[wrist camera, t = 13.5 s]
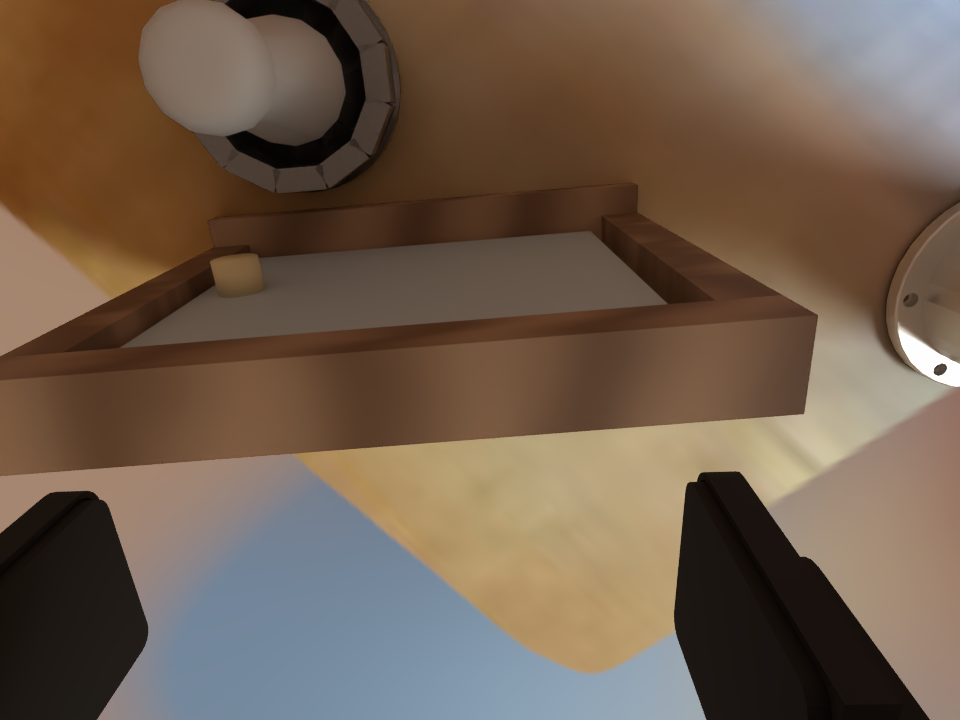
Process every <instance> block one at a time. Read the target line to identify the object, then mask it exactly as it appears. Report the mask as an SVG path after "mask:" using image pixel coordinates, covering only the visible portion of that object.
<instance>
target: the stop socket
mask: <svg viewBox="0 0 960 720" xmlns="http://www.w3.org/2000/svg"><path fill="white" fill-rule="evenodd" d="M210 1H215V2H221V3H223V4H225V5H226V6H228V7H229V8H231V9H232V10H234V11H235V12H237V13H238V14H240V15H241V16H242V17H244V18H245V19H249V18H255V17H260V16H266V15H272V14H274V15H279V16H284V17H289V18H294V19H299V20H302V21H303V22H305V23H306V24H308V25H309V26H310V27H312V28H313V29H315V30H316V31H318V32H319V33H320V34H322V35H323V36H325V37H326V39H327V41H328V43H329V44H330V46H331V48H332V49H333V51H334V53H335V55H336V56H337V58H338V60H339V61H340V63H341V65H342V71H343V78H344V85H345V91H346V94H345V98H344V101H343V104H342V108H341V111H340V115H339V118H338V120H337V121H336V122H335V123H334V124H333V125H332V126H331V127H330V128H329V129H328V130H327V132H326V133H325V134H324V135H323V136H322V137H321V138H319V139H316V140H313V141H310V142H307V143H304V144H301V145H298V146H292V145H286V144H279V143H273V142H269V141H267V140H265V139H263V138H260V137H258V136H256V135H254V134H252V133H250V132H248V131H246V130H245V131H241V132H238V133H235V134H232V135H229V136H224V137H222V136H215V135H208V134H202V133H195V132H193V131H192V132H193V133H194V134H195V136H196V137H197V138H198V139H199V141H200V142H201V143H202V144H203V145H204V147H205V148H206V149H207V150H208V152H209V153H210V154H211V155H212V157H213V158H214V159H215V160H216V161H217V163H218V164H219V165H220V166H221V168H225V167H226V169H225V171H227V172H229V173H232V174H234V175H236V176H238V177H240V178H243V179H245V180H247V181H249V182H251V183H253V184H256V185H258V186H260V187H262V188H264V189H266V190H269V191H271V192H273V193H274V192H277V193H288V192H316V191H322V190H328V189H331V188H335V187H338V186H340V185H343V184H345V183H347V182H349V181H351V180H353V179H354V178H356V177H357V176H359V175H360V174H362V173H363V172H364V171H365V170H367V169H368V168H369V167H370V166H371V165H372V164H373V163H374V162H375V161H376V159H377V158H378V157H379V156H380V155H381V153H382V152H383V150H384V149H385V147H386V145H387V144H388V142H389V139H390V137H391V135H392V133H393V130H394V127H395V124H396V121H397V117H398V112H399V107H400V93H401V89H400V75H399V69H398V63H397V59H396V56H395V52H394V49H393V46H392V44H391V41H390V39H389V37H388V34H387V32H386V30H385V29H384V27H383V25H382V23H381V22H380V20H379V18H378V17H377V16H376V14H375V13H374V12H373V10H372V9H371V8H370V6H369V5H368V4H367V3H366V2H365V1H364V0H210Z"/></svg>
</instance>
